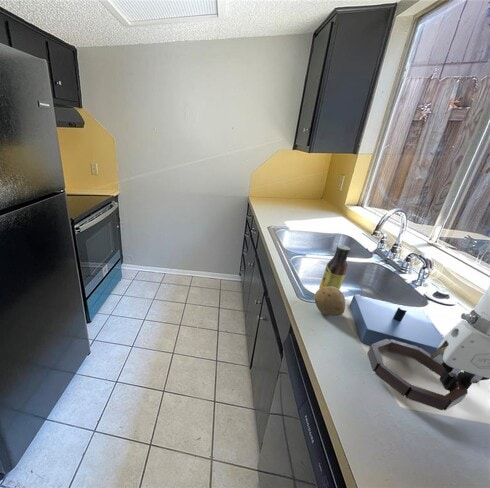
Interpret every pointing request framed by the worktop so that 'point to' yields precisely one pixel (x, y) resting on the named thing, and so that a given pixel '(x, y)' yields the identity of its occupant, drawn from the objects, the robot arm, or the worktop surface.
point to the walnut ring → (406, 388)
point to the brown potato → (330, 301)
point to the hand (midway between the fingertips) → (450, 386)
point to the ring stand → (393, 324)
